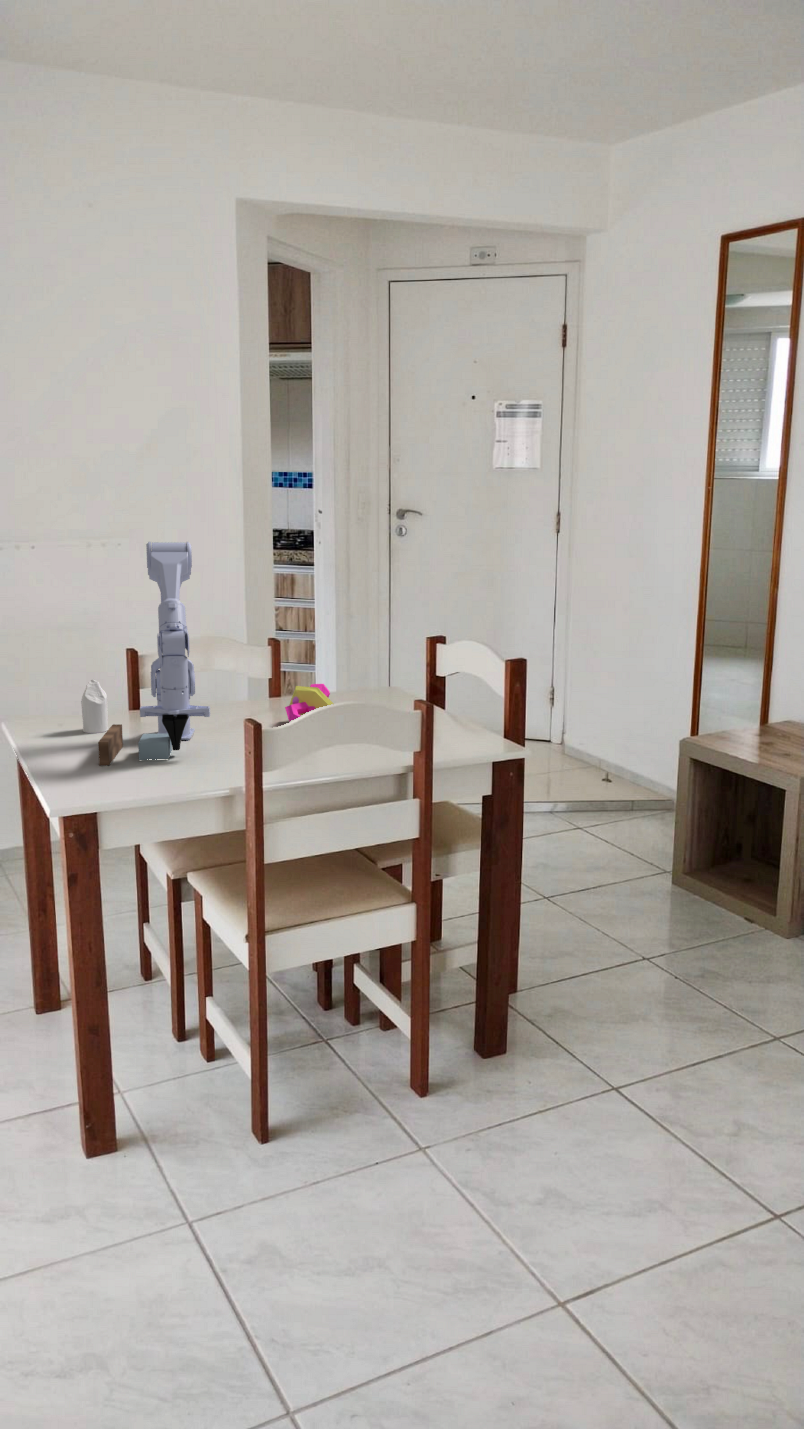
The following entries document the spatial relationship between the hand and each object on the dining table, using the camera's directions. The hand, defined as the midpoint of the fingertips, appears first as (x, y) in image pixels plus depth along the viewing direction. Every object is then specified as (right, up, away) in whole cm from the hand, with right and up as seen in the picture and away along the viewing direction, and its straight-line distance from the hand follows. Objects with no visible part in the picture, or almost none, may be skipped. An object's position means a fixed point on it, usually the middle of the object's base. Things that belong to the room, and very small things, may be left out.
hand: (176, 749), depth 240 cm
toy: (+26, +5, +33) cm, 42 cm away
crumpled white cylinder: (-23, +3, +22) cm, 32 cm away
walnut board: (-14, -1, -1) cm, 14 cm away
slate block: (-4, -1, 0) cm, 5 cm away
